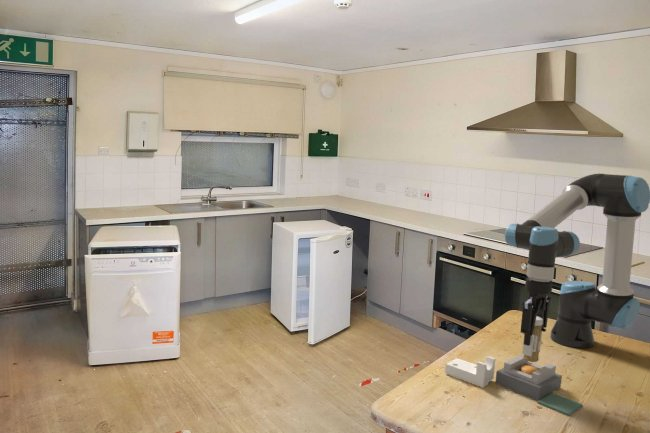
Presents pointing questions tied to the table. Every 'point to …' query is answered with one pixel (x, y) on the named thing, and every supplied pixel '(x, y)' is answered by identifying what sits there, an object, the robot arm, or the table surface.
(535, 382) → the grey square holder
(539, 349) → the robot arm
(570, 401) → the mat
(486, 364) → the bracket
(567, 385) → the table surface
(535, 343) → the sprinkles bottle
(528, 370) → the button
